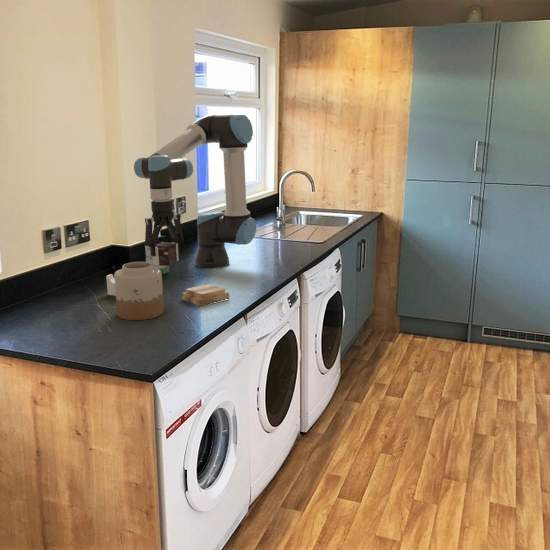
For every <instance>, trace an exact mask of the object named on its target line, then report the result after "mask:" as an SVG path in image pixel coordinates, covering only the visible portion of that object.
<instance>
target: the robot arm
mask: <svg viewBox="0 0 550 550" xmlns="http://www.w3.org/2000/svg"><path fill="white" fill-rule="evenodd" d="M253 135H254V129H253V126H252V122H251V120H250V119H249V117H248V116H247V115H245V114H243V113H211V114H207V115H205V116H203V117H201V118H199V119H197V120H195V121H193V122H192V123H191V124H189V125H188V126H187V127H186V130H185V131H184V132H183V133H181V134H180V135H178V136H177V137H175V138H174V139H172V140H171V141H169V142H168V143H167V144H165V145H164V146H163V147H161V148H159V150H156V151H155V152H154V153H153V154H151V155H150V156H148V157H139V158H137V159H136V160H135V162H134V164H133V172H134V174H135V175H136V176H137V177H138V178H141V179H145V180H149V192H150V194H149V195H150V200H151V202H150V204H151V205H150V207H151V212H152V215H151V217H146V218H144V223H145V234H144V237H145V238H144V247H145V246H148V247H150V251H151V256H153V264H154V265H157V266H158V265H159V255H158V247H156V244H158V240H159V237H160V236H159V235H160V233H161V230H162V228H163V227H166V228H167V230H168V233H169V235H170V237H171V239H172V243H176V253H177V262H179V260H180V258H179V252H180V250H181V248H180V244H181V243H182V241H184V233H183V228H182V224H181V223H182V222H181V218H182V217H181V214H180V213H174V212H173V210H174V203H173V202H174V201H173V200H172V199H173V190H172V189H173V187H172V185H173V184H172V182H173V181H181V180H183V181H184V180H186V179H189V178H190V177H191V176H192V175H193V172H194V166H193V163H192V161H191V160H190V159H188V158H186V156H187V155H188V154H189V153H191V152H192V151H194V149H196V148H198V147H199V148H200V147H202V146H205V145H206V144H212V143H215V144H216V143H217V144H218V145H219V147H218V148H219V149H220V150H221V152H222V153H223V168H224V169H223V171H224V188H225V191H224V192H225V193H224V195H225V207H226V208H225V210H224V212H223V211H212V212H204V213H200V214H199V215H198V216H197V220H196V221H197V222H196V226H197V228H196V229H197V243H198V244H197V245H198V247H197V250H196V251H197V252H196V255H195V259H194V265H195V266H196V267H198V268H204V269H218V268H224V267H227V266H228V265H230V258H229V255H228V253H227V248H226V245H225V244H232V245H233V244H235V245H238V246H239V245H245V246H246V245H249V244H250V243H252V241H253V239H254V238H255V236H256V232H257V222H256V220H255V218H253V217H251V211H250V210H248V209H247V208H248V207H247V189H246V187H247V186H246V165H245V164H246V163H245V162H246V161H245V150H247V148H248V144H249V143H250V142H251V141H252V139H253V138H252V137H254V136H253ZM172 220H173V221H172Z"/></svg>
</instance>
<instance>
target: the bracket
mask: <svg viewBox="0 0 550 550" xmlns="http://www.w3.org/2000/svg"><path fill="white" fill-rule="evenodd" d="M105 278H106V287H107V288H106V289H107V290H106V291H107V296H114V297H116V292H115V280H114V274H113V273H110V274H108V275H106V277H105Z"/></svg>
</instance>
